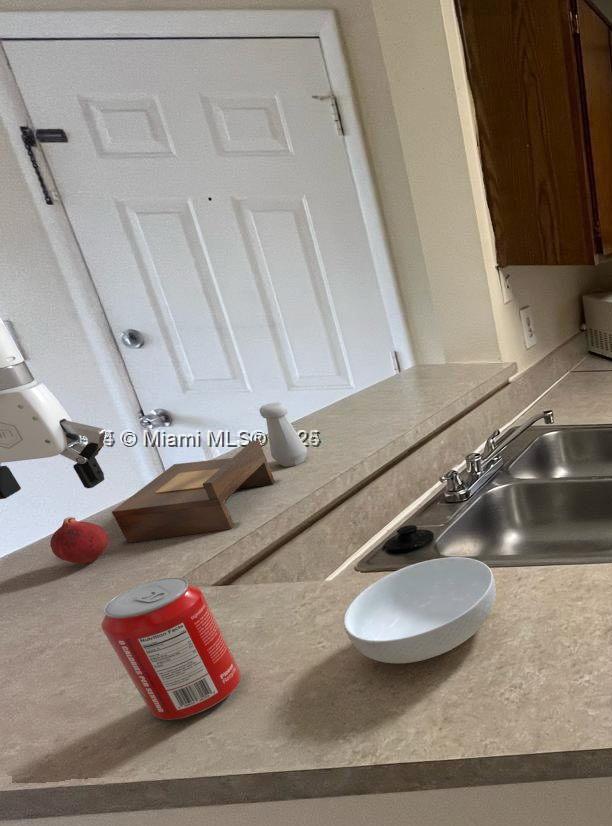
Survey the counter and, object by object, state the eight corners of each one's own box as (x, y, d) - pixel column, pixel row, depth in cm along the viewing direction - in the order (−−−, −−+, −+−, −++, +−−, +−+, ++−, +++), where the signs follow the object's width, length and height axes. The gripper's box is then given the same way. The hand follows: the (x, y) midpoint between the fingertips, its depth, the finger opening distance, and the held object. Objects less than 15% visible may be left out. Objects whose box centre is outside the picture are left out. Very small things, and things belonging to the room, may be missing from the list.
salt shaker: (290, 455, 131) (269, 399, 125) (317, 456, 131) (297, 399, 125) (268, 468, 125) (245, 409, 120) (295, 468, 125) (273, 410, 120)
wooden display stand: (127, 543, 101) (102, 495, 97) (186, 492, 116) (167, 449, 112) (231, 528, 105) (211, 482, 101) (275, 481, 120) (259, 440, 117)
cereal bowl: (450, 583, 92) (439, 544, 89) (530, 616, 85) (520, 575, 82) (329, 657, 78) (312, 613, 75) (413, 704, 71) (397, 658, 68)
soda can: (192, 730, 68) (133, 624, 62) (135, 719, 69) (71, 614, 63) (261, 677, 75) (214, 577, 69) (207, 668, 76) (157, 569, 70)
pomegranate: (111, 565, 95) (87, 521, 92) (58, 578, 92) (31, 533, 89) (122, 547, 99) (99, 505, 96) (71, 559, 96) (46, 515, 93)
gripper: (-126, 396, 78) (-47, 511, 85) (51, 381, 83) (111, 491, 90) (-72, 378, 84) (-4, 487, 91) (89, 365, 89) (142, 469, 96)
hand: (53, 489), depth 90 cm, fingers open, 9 cm apart
